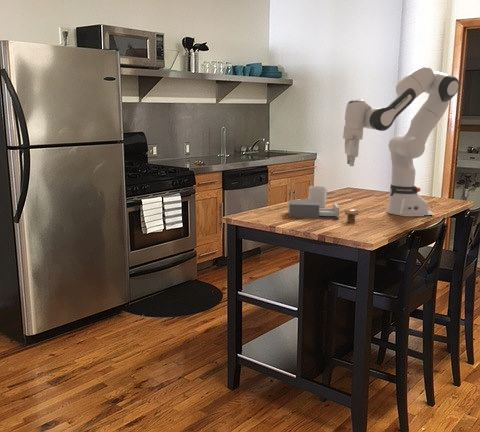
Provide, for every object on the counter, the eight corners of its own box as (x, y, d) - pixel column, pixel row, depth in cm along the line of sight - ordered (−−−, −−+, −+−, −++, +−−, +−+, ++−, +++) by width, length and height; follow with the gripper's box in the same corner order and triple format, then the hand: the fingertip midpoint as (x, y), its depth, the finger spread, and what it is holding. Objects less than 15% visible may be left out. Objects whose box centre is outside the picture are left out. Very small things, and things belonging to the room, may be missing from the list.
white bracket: (336, 211, 268) (337, 202, 267) (339, 217, 255) (340, 207, 254) (308, 210, 269) (308, 201, 268) (309, 216, 256) (310, 206, 255)
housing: (335, 213, 268) (335, 201, 267) (338, 219, 255) (339, 205, 254) (288, 212, 269) (288, 199, 268) (289, 217, 257) (289, 204, 255)
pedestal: (353, 220, 252) (354, 213, 251) (354, 222, 249) (355, 214, 248) (347, 220, 252) (347, 213, 252) (348, 222, 249) (348, 214, 249)
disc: (356, 213, 253) (357, 208, 252) (359, 215, 247) (359, 211, 246) (344, 212, 253) (344, 208, 253) (345, 215, 247) (346, 210, 247)
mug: (318, 210, 274) (319, 189, 272) (304, 208, 281) (305, 187, 278) (332, 208, 283) (333, 187, 280) (318, 205, 289) (319, 185, 287)
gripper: (363, 136, 239) (360, 167, 241) (356, 134, 259) (354, 163, 261) (348, 135, 239) (346, 167, 242) (343, 133, 259) (341, 162, 262)
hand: (350, 165), depth 252 cm, fingers open, 8 cm apart
